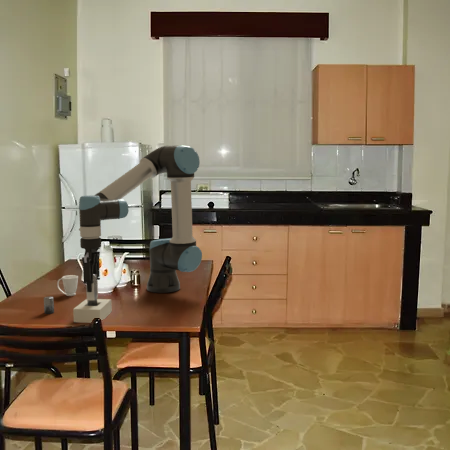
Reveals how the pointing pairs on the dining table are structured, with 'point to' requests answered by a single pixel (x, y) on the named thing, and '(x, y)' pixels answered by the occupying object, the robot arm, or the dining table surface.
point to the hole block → (92, 311)
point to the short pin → (48, 305)
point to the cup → (69, 284)
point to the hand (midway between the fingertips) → (92, 298)
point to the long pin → (94, 302)
